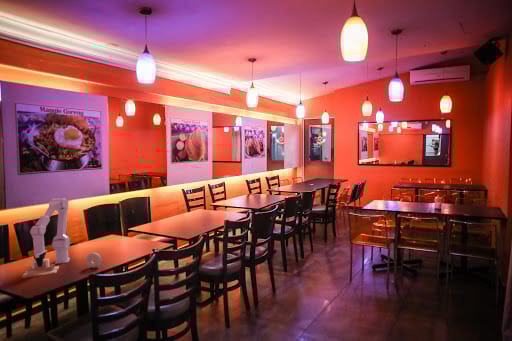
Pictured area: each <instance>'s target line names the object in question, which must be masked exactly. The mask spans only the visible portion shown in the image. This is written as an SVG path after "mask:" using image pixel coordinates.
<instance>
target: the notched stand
mask: <svg viewBox="0 0 512 341" xmlns="http://www.w3.org/2000/svg"><path fill="white" fill-rule="evenodd" d="M59 268H60V265H56V264H55V263H51V264H50V263H49V267H43V268H36V269H32V266H29V267H28V269H27V270H26V271H25V272H24V273H23V275H22V276H21V279H25V278H31V277H38V276H46V275H53V274H56V273H57V272H58V271H59Z"/></svg>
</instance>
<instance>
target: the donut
mask: <svg viewBox="0 0 512 341" xmlns="http://www.w3.org/2000/svg"><path fill="white" fill-rule="evenodd" d="M101 257H102V256H101V255H100V254H98V253H97V252H90V253H89V254H87V256H86V257H85V258H86V259H85V260H86V261H85V262H86V265H87V266H88V268H91V269H96V268H98V267H99V266H100V265H101V263H102V258H101ZM92 259H94V260H95V262H93V260H92Z"/></svg>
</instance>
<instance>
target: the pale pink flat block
mask: <svg viewBox="0 0 512 341" xmlns="http://www.w3.org/2000/svg"><path fill="white" fill-rule="evenodd" d="M49 265H50V258H44V259H43V264H42V266H41V267H38V265H37V262H36V260H35V259H34V260H31V267H32V269H36V268H43V267H49Z"/></svg>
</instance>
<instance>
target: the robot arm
mask: <svg viewBox="0 0 512 341" xmlns="http://www.w3.org/2000/svg"><path fill="white" fill-rule="evenodd" d="M68 210H69V201H68V199H67V198H65V197H63V198H54V197H53V198H50V200H49V201H48V207H47V209H46V210H45V213H44V214H43V215H42V216H40V217H39V219H38V220H37V222H36V224H35V225H33V226H32V227H31V228H30V230H29V233H30V235H31V238H32V242H33V254H34V256H33V259H34V260H36V262H37V265H38V267H41V266H42V264H43V259H46V255H47V252H48V250H46V249H45V237H44V236H45V233H46V229H47V226H48V224H49V223H50V222H51V219H50V218H51V217H52V215H53V214H54V213H55V211H57V212H58V214H57V215H58V216H57V227H56V228H57V231H56V235H55V236H54V237H53V238H52V243H51V247H52V248H53V249H54V251H55V262H54V265H56V264H58V265H59V264H65V263H69V261H70V260H71V257H69V248H70V246H71V241H70V237H69V236H68V235H67V234H66V233H67V222H68Z"/></svg>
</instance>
